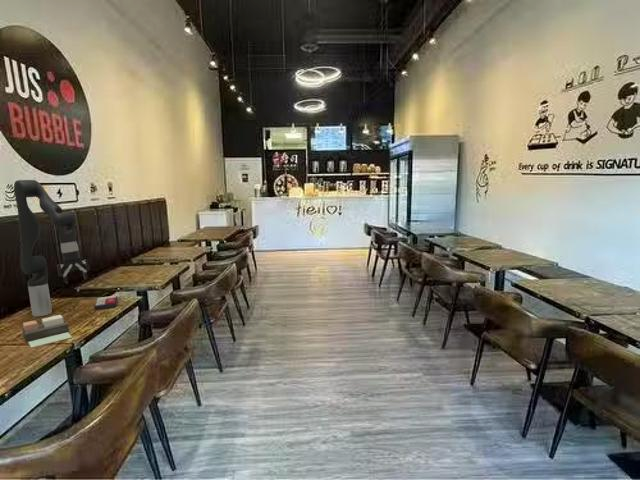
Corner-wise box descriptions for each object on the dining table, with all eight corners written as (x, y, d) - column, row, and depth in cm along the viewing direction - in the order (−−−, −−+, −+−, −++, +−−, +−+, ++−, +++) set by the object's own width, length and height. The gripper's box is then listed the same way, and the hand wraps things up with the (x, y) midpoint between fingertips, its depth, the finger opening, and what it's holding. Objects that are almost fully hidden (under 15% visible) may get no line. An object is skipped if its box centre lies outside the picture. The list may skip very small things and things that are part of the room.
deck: (23, 336, 196) (22, 328, 195) (63, 326, 207) (62, 318, 207) (26, 342, 187) (25, 334, 187) (69, 332, 198) (67, 324, 198)
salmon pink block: (23, 328, 194) (22, 322, 194) (36, 326, 198) (35, 320, 197) (25, 332, 190) (24, 326, 189) (38, 329, 193) (37, 323, 193)
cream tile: (42, 324, 199) (41, 318, 199) (61, 320, 205) (60, 314, 204) (44, 327, 195) (43, 321, 194) (63, 323, 200) (62, 317, 200)
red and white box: (94, 305, 231) (96, 297, 244) (95, 312, 232) (97, 303, 245) (115, 302, 235) (116, 294, 248) (116, 309, 236) (117, 301, 249)
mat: (28, 342, 187) (28, 341, 187) (68, 332, 198) (67, 332, 198) (31, 348, 181) (31, 347, 181) (72, 337, 191) (72, 336, 191)
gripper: (83, 248, 216) (89, 277, 218) (52, 253, 207) (59, 284, 209) (87, 248, 211) (93, 278, 212) (55, 253, 201) (62, 285, 203)
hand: (76, 281), depth 211 cm, fingers open, 8 cm apart
